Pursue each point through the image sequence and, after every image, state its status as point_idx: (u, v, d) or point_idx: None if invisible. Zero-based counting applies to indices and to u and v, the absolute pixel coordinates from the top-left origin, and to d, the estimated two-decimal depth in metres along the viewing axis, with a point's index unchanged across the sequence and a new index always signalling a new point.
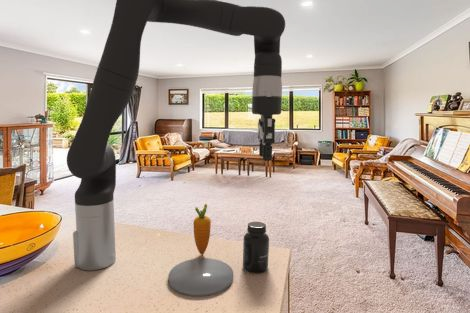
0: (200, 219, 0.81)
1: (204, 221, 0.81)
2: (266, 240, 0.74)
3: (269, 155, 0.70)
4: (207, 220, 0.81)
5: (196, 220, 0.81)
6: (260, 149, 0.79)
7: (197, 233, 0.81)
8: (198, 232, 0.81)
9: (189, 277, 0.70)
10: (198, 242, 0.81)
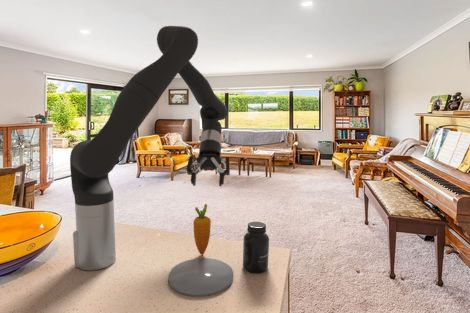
0: (200, 219, 0.81)
1: (204, 221, 0.81)
2: (266, 240, 0.74)
3: (223, 181, 0.94)
4: (207, 220, 0.81)
5: (196, 220, 0.81)
6: (195, 178, 0.93)
7: (197, 233, 0.81)
8: (198, 232, 0.81)
9: (189, 277, 0.70)
10: (198, 242, 0.81)
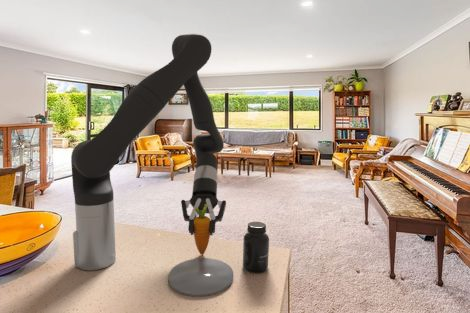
0: (200, 219, 0.81)
1: (204, 221, 0.81)
2: (266, 240, 0.74)
3: (214, 230, 0.82)
4: (207, 220, 0.81)
5: (196, 220, 0.81)
6: (193, 226, 0.82)
7: (197, 233, 0.81)
8: (198, 232, 0.81)
9: (189, 277, 0.70)
10: (198, 242, 0.81)
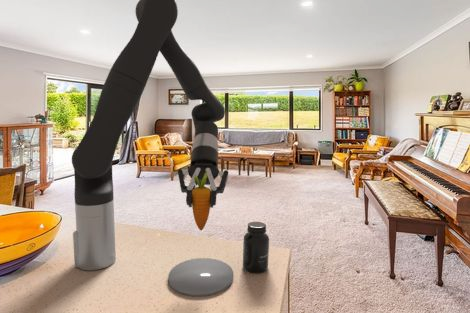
0: (199, 189, 0.72)
1: (204, 191, 0.71)
2: (266, 240, 0.74)
3: (215, 202, 0.73)
4: (207, 190, 0.72)
5: (195, 190, 0.72)
6: (191, 197, 0.72)
7: (196, 204, 0.72)
8: (197, 203, 0.72)
9: (189, 277, 0.70)
10: (197, 215, 0.72)
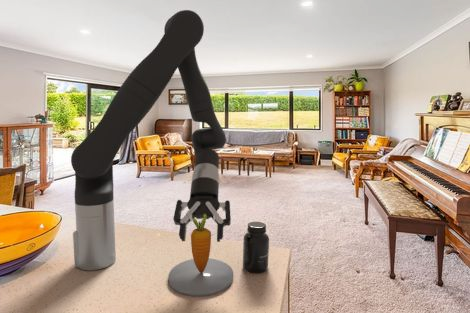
0: (199, 232, 0.69)
1: (203, 234, 0.69)
2: (266, 240, 0.74)
3: None
4: (207, 233, 0.69)
5: (194, 233, 0.69)
6: (185, 231, 0.70)
7: (196, 248, 0.69)
8: (197, 247, 0.69)
9: (189, 277, 0.70)
10: (197, 259, 0.70)
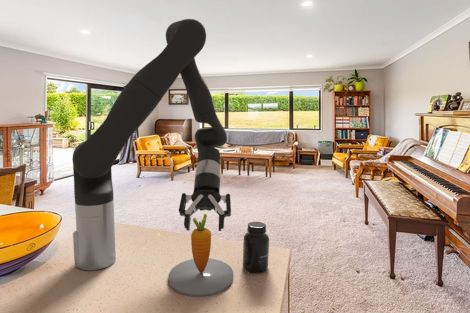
0: (199, 232, 0.69)
1: (204, 234, 0.69)
2: (266, 240, 0.74)
3: (223, 225, 0.77)
4: (207, 233, 0.69)
5: (194, 233, 0.69)
6: (189, 221, 0.77)
7: (196, 248, 0.69)
8: (197, 247, 0.69)
9: (189, 277, 0.70)
10: (197, 259, 0.70)
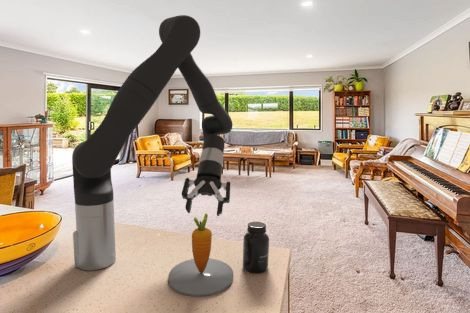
0: (200, 231, 0.69)
1: (204, 234, 0.69)
2: (266, 240, 0.74)
3: None
4: (208, 233, 0.70)
5: (195, 233, 0.69)
6: (190, 204, 0.83)
7: (196, 247, 0.69)
8: (197, 247, 0.69)
9: (189, 277, 0.70)
10: (198, 258, 0.70)
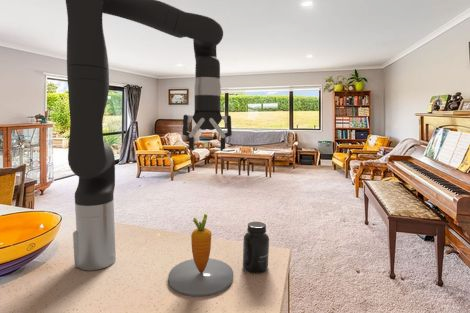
0: (199, 232, 0.69)
1: (204, 235, 0.69)
2: (266, 240, 0.74)
3: None
4: (207, 233, 0.69)
5: (194, 233, 0.69)
6: (193, 143, 0.84)
7: (196, 248, 0.69)
8: (197, 247, 0.69)
9: (189, 277, 0.70)
10: (197, 259, 0.70)
